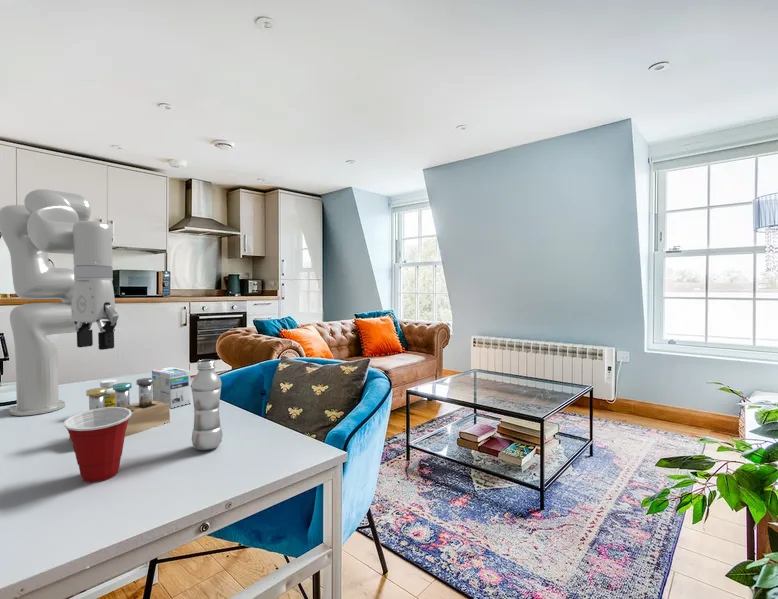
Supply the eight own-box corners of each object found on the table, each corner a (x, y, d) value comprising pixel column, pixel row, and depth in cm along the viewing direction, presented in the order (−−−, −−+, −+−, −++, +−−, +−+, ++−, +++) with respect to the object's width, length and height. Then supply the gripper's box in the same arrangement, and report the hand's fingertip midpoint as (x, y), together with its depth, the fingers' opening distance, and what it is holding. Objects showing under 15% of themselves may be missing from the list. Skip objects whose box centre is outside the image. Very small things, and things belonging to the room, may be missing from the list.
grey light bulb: (133, 408, 109) (133, 380, 109) (148, 404, 113) (147, 377, 112) (143, 410, 107) (142, 381, 107) (157, 406, 111) (157, 378, 111)
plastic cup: (56, 494, 73) (54, 427, 73) (74, 469, 83) (73, 410, 83) (128, 483, 77) (126, 419, 77) (137, 460, 87) (136, 404, 87)
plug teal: (109, 414, 104) (109, 385, 103) (125, 410, 107) (125, 381, 107) (119, 417, 102) (118, 387, 102) (135, 412, 105) (134, 383, 105)
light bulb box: (191, 404, 129) (191, 369, 129) (170, 409, 123) (169, 373, 123) (172, 399, 135) (171, 366, 134) (151, 403, 129) (150, 369, 129)
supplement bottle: (120, 410, 123) (119, 378, 122) (120, 414, 118) (120, 381, 118) (98, 413, 120) (97, 380, 119) (97, 418, 115) (96, 384, 115)
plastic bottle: (192, 456, 90) (190, 364, 89) (191, 445, 96) (189, 359, 95) (224, 450, 93) (223, 362, 92) (221, 440, 99) (220, 357, 98)
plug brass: (83, 422, 98) (82, 390, 98) (101, 417, 102) (100, 387, 102) (93, 424, 97) (92, 392, 96) (111, 419, 100) (110, 388, 100)
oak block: (69, 442, 98) (69, 421, 97) (150, 417, 115) (150, 400, 115) (89, 448, 94) (88, 426, 94) (169, 422, 112) (169, 403, 112)
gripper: (55, 274, 99) (57, 347, 99) (98, 273, 91) (100, 352, 91) (89, 275, 105) (91, 343, 106) (132, 274, 98) (134, 348, 98)
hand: (95, 347), depth 99 cm, fingers open, 8 cm apart
